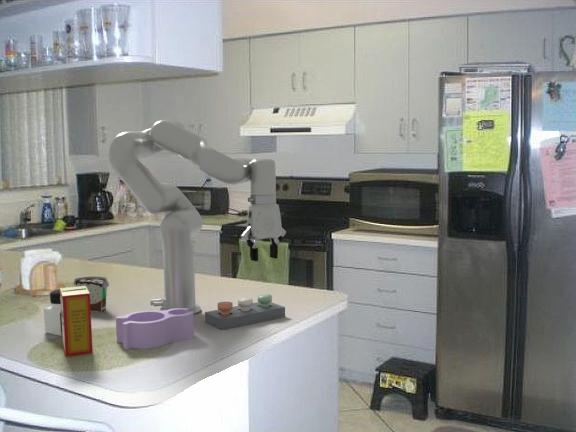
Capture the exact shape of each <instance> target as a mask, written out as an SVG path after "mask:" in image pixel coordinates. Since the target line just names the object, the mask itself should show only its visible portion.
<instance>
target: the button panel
mask: <svg viewBox="0 0 576 432" xmlns="http://www.w3.org/2000/svg"><path fill="white" fill-rule="evenodd" d="M285 317H286V307H285V306H282V305H280V304H277V303H274V302H273V301H272V302H269V307H266V308H262V307H260V302H258V301H257V302H253V305H252V306H250V311H245V312H243V311H241V306H238V305H236V306H233V309H231V310H230V315H225V316H222V315H221V314H220V310H218V309H215V310H209V311H205V312H204V322H205V323H207V324H208V325H211V326H213V327H216V328H217V329H219V330H222V331H223V330H229V329H233V328H238V326H239V327H242V326H243V327H244V326H248V325H253V324H256V323H262V322H266V321H267V322H268V321H271V320H275V319H276V320H277V319H281V318H285Z"/></svg>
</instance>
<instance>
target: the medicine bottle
mask: <svg viewBox="0 0 576 432" xmlns="http://www.w3.org/2000/svg"><path fill="white" fill-rule="evenodd" d="M49 301H50V306H47V307H44V308H43V320H44V332H45V333H46V334H50V335H54V336H59V337H62V321H61V302H60V288H58V289H54V290H52V291H51V292H50V293H49Z"/></svg>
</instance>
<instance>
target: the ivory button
mask: <svg viewBox="0 0 576 432" xmlns="http://www.w3.org/2000/svg"><path fill="white" fill-rule="evenodd" d="M253 303H254V301H253V298H249V297H242V298H238V299H237V306H241V311H243V312H245V311H250V306H252V305H253Z"/></svg>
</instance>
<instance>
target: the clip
mask: <svg viewBox="0 0 576 432" xmlns="http://www.w3.org/2000/svg"><path fill="white" fill-rule="evenodd" d="M194 318H195V317H194V314H193V311H190V312H189V309H188V308H174V309H169V310H163V311H160V310H152V309H151V310H140V311H134V312H130V313H128V314H125V315H124V316H116V317H115V327H116V332H115V333H116V343H120V344H121V343H122V347H123V350H130V349H152V348H153V349H154V348H158V347H159V348H160V347H163V346H165V345H167V344H169V343H171V342H177V341H185V340H190V339H192V338H193V337H195V323H194V321H195V320H194Z"/></svg>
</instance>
